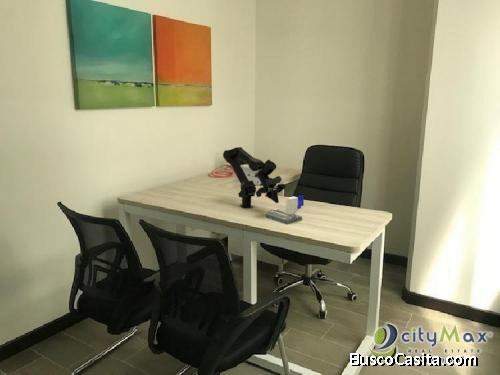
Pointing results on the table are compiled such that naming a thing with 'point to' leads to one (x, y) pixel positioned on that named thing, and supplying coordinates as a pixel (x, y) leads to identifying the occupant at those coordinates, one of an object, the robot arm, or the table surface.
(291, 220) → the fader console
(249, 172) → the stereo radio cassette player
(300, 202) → the cable clip
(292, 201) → the fader handle
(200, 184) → the table surface
